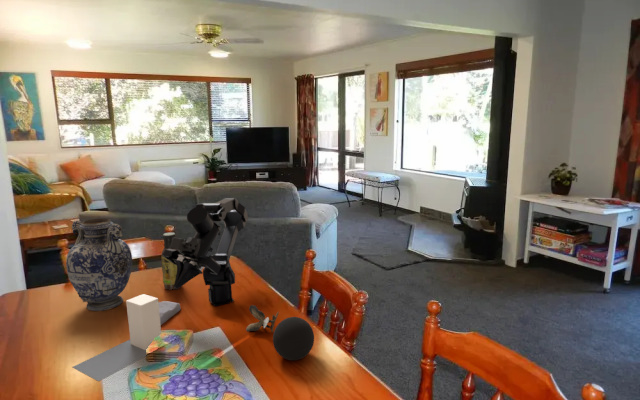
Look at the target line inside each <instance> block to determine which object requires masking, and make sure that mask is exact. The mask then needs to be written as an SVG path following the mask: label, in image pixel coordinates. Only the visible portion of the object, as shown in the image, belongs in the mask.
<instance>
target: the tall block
mask: <svg viewBox="0 0 640 400" xmlns="http://www.w3.org/2000/svg"><path fill="white" fill-rule="evenodd" d="M125 302H126V303H125V304H126V311H127V313H126V314H127V320H128V321H127V322H128V331H129V340H130V341H131V344H132V345H134V346H136V347H139V348H141V349H143V350H146V349H147V348H148V346H149V345H150V344H151V343H152V341H153V340H154V338H155V337H157V336H159V335H160V334H161V331H162V327H161V326H162V325H160V314H159V303H158V302H159V298H158V297H155V296H152V295H148V294H145V293H142V294H139V295H138V296H137V295H136V296H134V297H132V298H129V299H127V300H125Z"/></svg>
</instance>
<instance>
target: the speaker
mask: <svg viewBox="0 0 640 400" xmlns="http://www.w3.org/2000/svg"><path fill="white" fill-rule="evenodd" d="M272 343H273V348H274V349H275V351H276V353H277V354H278V355H279V356H280V357H282V358H283V359H286V360H288V361H299V360H301V359H303V358H304V357H307V355H309V353H310V352H311V351H312V349H313V347H314V344H315V333H314V331H313V327H312V326H311V325H310V323H309V322H308V321H307V320H305V319H303V318H301V317H299V316H290V317H287V318H284V319H283V320H281V321H280V322H279V323H278V324H277V326H276V327H275V329H274V330H273V336H272Z"/></svg>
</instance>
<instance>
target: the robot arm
mask: <svg viewBox="0 0 640 400" xmlns="http://www.w3.org/2000/svg"><path fill="white" fill-rule="evenodd" d="M195 205H196V206H195V207H193V208H192V209H190V210H189V211H188V213H187V215H186V219H187V221H188V223H189V224H190V226H191V228H192V229H193V230H194V231H195V234H194V236H193V237H191V236H188V237H187V239H185V238H179V237H173V239H172V243H171V246H170V248H172V249H166V250H165V251H164V253H163V255H162V254H161V255H162V256H163V257H165V258H166V259H167V260H169V261H170V262H171V263H173V264H175V265H177V273H176V279H175V283H174V288H176V289H175V290H179V289H181V287H183V286H184V285H185V284H187V283H188V282H190V281H191V280H192V279H194V278H196V277H197V276H199V275H202V277H203V281H204V285H205V286H209V288H208V289H207V290H208V291H207V293H208V300H209V302H210V303H211V304H212V305H213V306H214V307H219V306H222V305H226V304H230V303H233V302H235V300H234V298H233V293H232V292H233V291H232V289H233V288H232V285H234V284H236V273H235V272H234V270H233V269H232V266H231V263H230V259H231V256H232V252H233V249H234V247H235V243H236V240H237V236H238V233H240V231H242V230H243V229H244V228H245V227H246V223H247V222H248V221H249V214H248V211H247V209H246V207H245V205H242V204H241V203H240V202H239V200H238V198H236V197H224V198H222V199H221V200H219V201H216V202H202V203H196V204H195ZM216 222H223V224H224V230H223V232H222V231H221V226H220V225H218V224H217V223H216ZM218 236H221V238H220V241H219V244H218V247H217V250H216V253H215V254H210V255H208V254H209V253H208V252H211V253H212V252H213V250H214V248H212V246H213V244H214V242H215V241H216V239H217V237H218ZM173 248H175V249H177V250H179V252H178V251H177V250H174V249H173ZM207 255H208V256H207Z"/></svg>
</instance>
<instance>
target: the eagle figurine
mask: <svg viewBox="0 0 640 400" xmlns="http://www.w3.org/2000/svg"><path fill="white" fill-rule="evenodd" d="M248 308H249V309H248V310H249V313H250V314H251V315H252V316H253V317H254V318H255V319H257V320H258V322H253V323H250V324H248V325H247V326H246V329H245V331H246V332H248V333H249V332H252V331H254V332H256V331H257V332H258V331H259V330H260V329H261V328H262V327H263V329H265V328H268V329H269V330H270V331H271V332H272V333H273V334H274V328H275V324H276V321H277V318H278V316H279V311H277V313H276V314H272V318H271V320H270V318H269V316H267V317H266V315H265V313H264V312H263V311H261V310H259V308H258V307H257V306H256V305H254V304H251V305H250V306H249V307H248ZM269 323H271V324H270V325H268V324H269Z"/></svg>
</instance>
